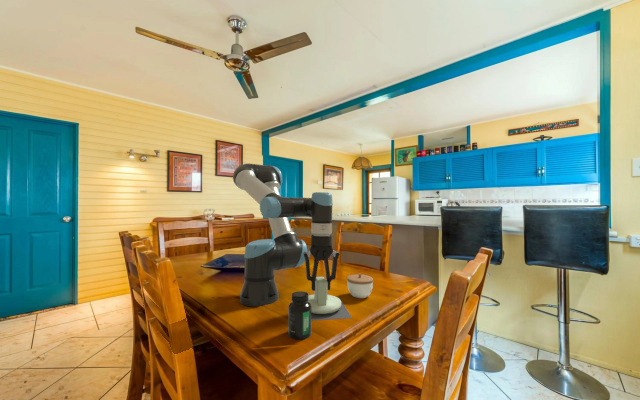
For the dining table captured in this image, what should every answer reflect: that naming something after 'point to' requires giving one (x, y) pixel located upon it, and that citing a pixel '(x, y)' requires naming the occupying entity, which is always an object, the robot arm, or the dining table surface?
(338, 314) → the mat
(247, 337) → the dining table surface
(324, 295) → the lid
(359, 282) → the lidded jar
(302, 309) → the supplement bottle
